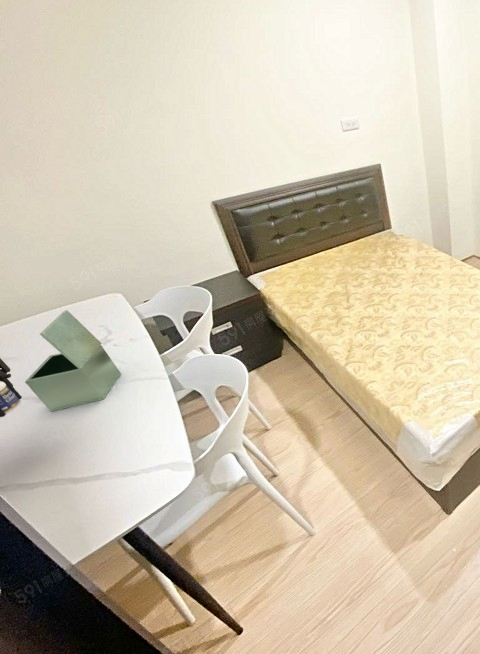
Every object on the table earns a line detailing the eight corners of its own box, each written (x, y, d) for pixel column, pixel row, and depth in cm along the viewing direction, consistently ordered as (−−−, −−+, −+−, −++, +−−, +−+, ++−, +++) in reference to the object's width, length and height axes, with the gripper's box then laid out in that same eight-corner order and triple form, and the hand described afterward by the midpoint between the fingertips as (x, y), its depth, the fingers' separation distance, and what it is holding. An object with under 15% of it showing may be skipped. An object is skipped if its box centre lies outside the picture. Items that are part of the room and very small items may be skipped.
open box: (50, 411, 123) (24, 381, 117) (72, 384, 134) (49, 355, 127) (103, 399, 127) (81, 369, 121) (121, 373, 137) (101, 344, 131)
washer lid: (39, 334, 112) (42, 333, 113) (64, 310, 123) (67, 309, 123) (78, 369, 120) (81, 368, 120) (99, 344, 131) (101, 343, 131)
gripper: (-72, 359, 85) (0, 431, 96) (-9, 313, 100) (46, 380, 112) (-120, 367, 83) (-41, 440, 94) (-48, 319, 98) (12, 387, 110)
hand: (6, 407), depth 103 cm, fingers closed on pill bottle, 5 cm apart
